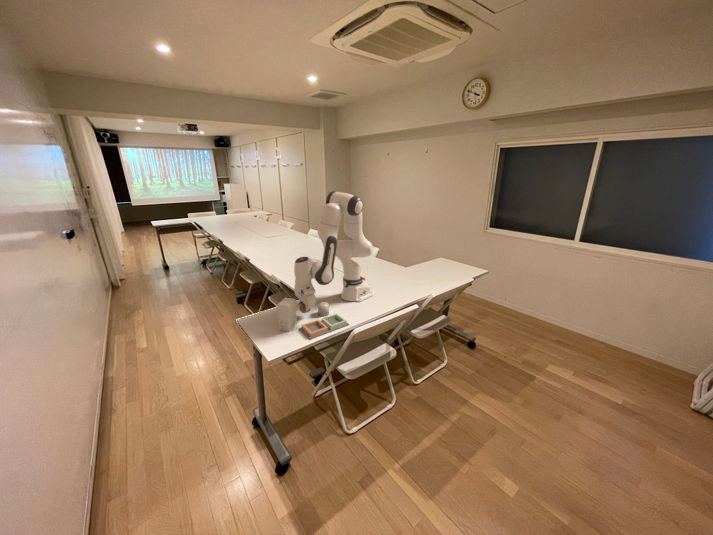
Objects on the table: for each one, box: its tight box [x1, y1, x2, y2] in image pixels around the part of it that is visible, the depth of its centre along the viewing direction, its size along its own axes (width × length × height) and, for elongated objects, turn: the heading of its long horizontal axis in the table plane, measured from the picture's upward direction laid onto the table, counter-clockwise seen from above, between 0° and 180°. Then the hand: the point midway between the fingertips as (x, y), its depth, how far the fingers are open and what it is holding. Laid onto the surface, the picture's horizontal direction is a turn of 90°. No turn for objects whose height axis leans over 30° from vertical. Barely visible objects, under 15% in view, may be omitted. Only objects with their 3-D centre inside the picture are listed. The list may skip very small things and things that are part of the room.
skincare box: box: [277, 297, 298, 332], centre depth 145 cm, size 8×7×16 cm
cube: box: [298, 301, 311, 314], centre depth 156 cm, size 4×4×5 cm
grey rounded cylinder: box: [317, 301, 330, 317], centre depth 161 cm, size 6×6×6 cm
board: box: [299, 313, 350, 340], centre depth 148 cm, size 24×12×3 cm, turn 127°
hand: (304, 307), depth 156 cm, fingers closed on cube, 4 cm apart
